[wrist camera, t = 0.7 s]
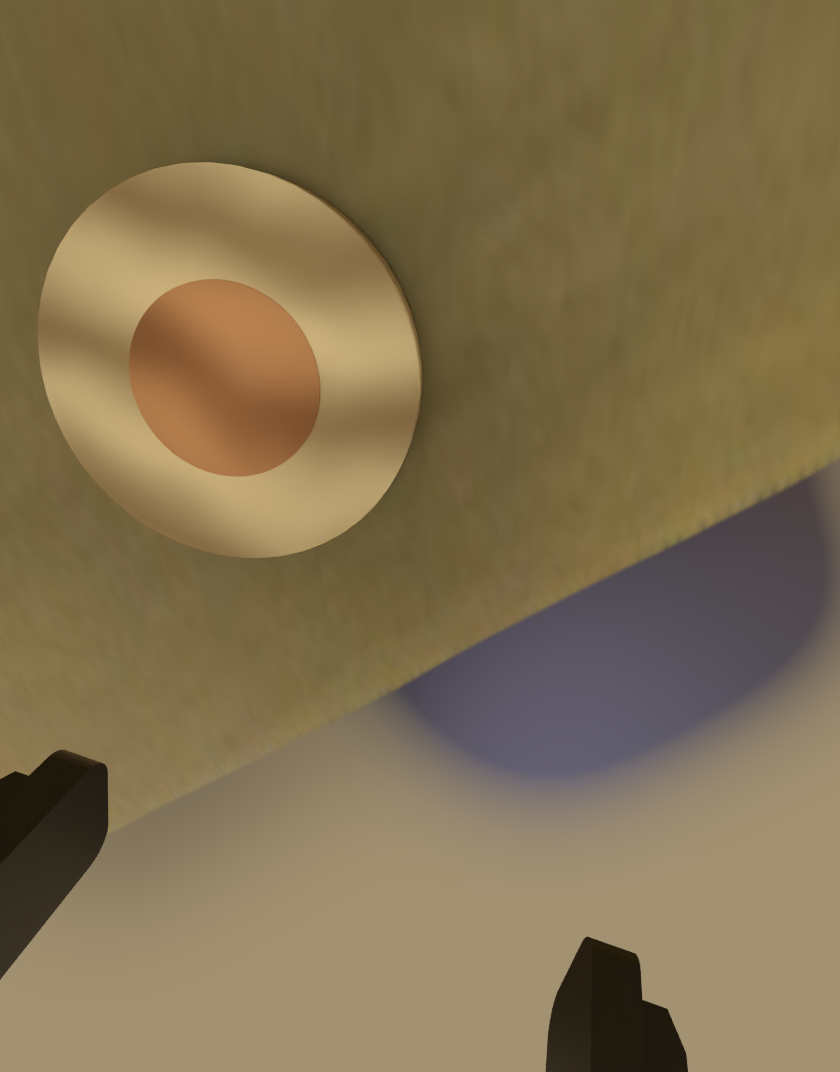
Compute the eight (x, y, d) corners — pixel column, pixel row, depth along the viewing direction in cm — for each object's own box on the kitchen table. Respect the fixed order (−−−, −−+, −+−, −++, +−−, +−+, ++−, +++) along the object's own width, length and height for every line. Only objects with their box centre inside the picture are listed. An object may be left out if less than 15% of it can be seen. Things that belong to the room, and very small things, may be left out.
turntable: (65, 134, 27) (20, 124, 25) (457, 208, 27) (452, 206, 24) (79, 499, 34) (45, 521, 31) (394, 564, 34) (385, 591, 31)
